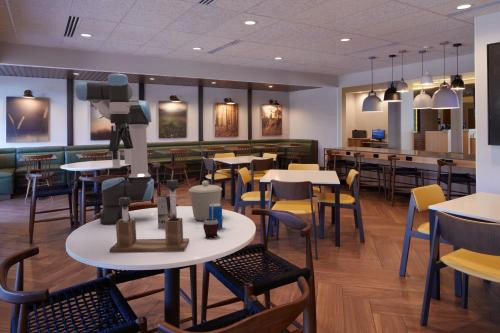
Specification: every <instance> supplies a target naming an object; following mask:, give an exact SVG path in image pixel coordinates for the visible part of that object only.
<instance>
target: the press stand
mask: <svg viewBox="0 0 500 333" xmlns="http://www.w3.org/2000/svg"><path fill="white" fill-rule="evenodd" d="M183 222H184V221H183V217H177V221H171V218H168V219H167V220H166V221H165V229H164V230H165V231H164V232H165V238H143V239H142V238H138V239H137V226H136V225H137V224H136V218H130V219H129V222H123V219H120V220H119V221H117V222H116V224H115V229H116V233H115V234H116V243H115V244H113V245H112V246H111V247H110V248H109V253H110V254H111V253H112V254H113V253H155V252H156V253H157V252H158V253H159V252H161V253H162V252H163V253H164V252H185V250H186V249H187V246H188V244H190V243H189V242H190V238H188V237H187V238H186V237H185V238H184V226H183V225H184V224H183Z"/></svg>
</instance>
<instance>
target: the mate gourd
mask: <svg viewBox="0 0 500 333" xmlns="http://www.w3.org/2000/svg"><path fill="white" fill-rule="evenodd" d="M213 203H214V202H212V218H209V219H206V220H205V221H203V225H202V226H203V231H204V236H205V237H204V238H205V239H209V238H212V239H216V237H217V236H218V231H219V230H218V229H219V223H218V221H217V219H215V218H213Z"/></svg>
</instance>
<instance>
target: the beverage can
mask: <svg viewBox="0 0 500 333" xmlns="http://www.w3.org/2000/svg"><path fill="white" fill-rule="evenodd" d="M209 218H212V204H210V206H209ZM213 218H215V219H217V221H218V223H219V229H218V231H220V230H222V228H223V207H222V204H221V203H220V204H213Z"/></svg>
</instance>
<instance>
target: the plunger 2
mask: <svg viewBox="0 0 500 333" xmlns="http://www.w3.org/2000/svg"><path fill="white" fill-rule="evenodd" d="M166 188H167V189H169V194H170V210H171V221H177V218H178V216H177V215H178V214H177V193H176V192H177V191H176V189H178V188H179V180H178V179H167V180H166Z"/></svg>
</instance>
